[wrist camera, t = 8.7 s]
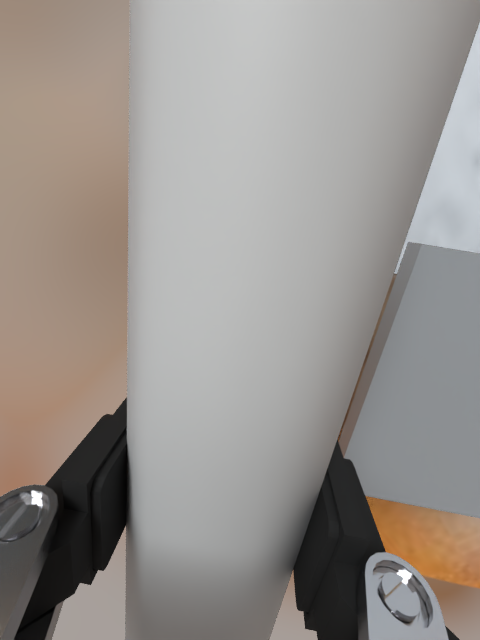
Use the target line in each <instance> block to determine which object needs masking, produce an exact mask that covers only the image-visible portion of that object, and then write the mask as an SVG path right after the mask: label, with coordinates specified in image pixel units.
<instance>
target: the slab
mask: <svg viewBox="0 0 480 640" xmlns="http://www.w3.org/2000/svg"><path fill="white" fill-rule="evenodd" d="M338 443H339V446H340V449H341V452H342V455H343V458H345V459H350V460H351V461H352V463H353V465H354V467H355V469H356V472H357V475H358V478H359V480H360V483H361V486H362V489H363V491H364V494H365V496H369V497H374V498H379V499H384V500H389V501H394V502H399V503H405V504H410V505H415V506H420V507H425V508H430V509H435V510H441V511H446V512H451V513H456V514H461V515H466V516H471V517H476V518H480V254H479V253H473V252H467V251H461V250H455V249H449V248H443V247H437V246H431V245H425V244H418V243H411V242H408V244H407V247H406V250H405V253H404V256H403V258H402V261H401V264H400V267H399V270H398V273H397V276H396V279H395V281H394V284H393V287H392V290H391V293H390V296H389V299H388V301H387V304H386V307H385V310H384V313H383V316H382V319H381V321H380V324H379V327H378V330H377V333H376V336H375V339H374V342H373V344H372V347H371V350H370V353H369V356H368V359H367V362H366V364H365V367H364V370H363V373H362V376H361V379H360V382H359V384H358V387H357V390H356V393H355V396H354V399H353V402H352V404H351V407H350V410H349V413H348V416H347V419H346V422H345V425H344V427H343V430H342V433H341V436H340V439H339V442H338Z"/></svg>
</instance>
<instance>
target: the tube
mask: <svg viewBox="0 0 480 640" xmlns="http://www.w3.org/2000/svg"><path fill="white" fill-rule="evenodd" d="M479 22H480V0H130V59H129V60H130V61H129V62H130V63H129V197H128V199H129V200H128V201H129V202H128V203H129V204H128V337H127V348H128V349H127V505H126V615H125V617H126V618H125V620H126V621H125V624H126V627H125V631H126V632H125V640H269V638H270V635H271V633H272V630H273V627H274V624H275V621H276V618H277V615H278V612H279V609H280V606H281V603H282V600H283V597H284V594H285V592H286V589H287V586H288V583H289V580H290V577H291V574H292V571H293V568H294V565H295V562H296V559H297V556H298V553H299V550H300V548H301V545H302V542H303V539H304V536H305V533H306V530H307V527H308V524H309V521H310V518H311V515H312V512H313V509H314V506H315V504H316V501H317V498H318V495H319V492H320V489H321V486H322V483H323V480H324V477H325V474H326V471H327V468H328V465H329V462H330V459H331V457H332V454H333V451H334V448H335V445H336V442H337V439H338V436H339V433H340V430H341V427H342V424H343V421H344V418H345V415H346V413H347V410H348V407H349V404H350V401H351V398H352V395H353V392H354V389H355V386H356V383H357V380H358V377H359V374H360V371H361V368H362V366H363V363H364V360H365V357H366V354H367V351H368V348H369V345H370V342H371V339H372V336H373V333H374V330H375V327H376V324H377V322H378V319H379V316H380V313H381V310H382V307H383V304H384V301H385V298H386V295H387V292H388V289H389V286H390V283H391V280H392V277H393V275H394V272H395V269H396V266H397V263H398V260H399V257H400V254H401V251H402V248H403V245H404V242H405V239H406V236H407V233H408V231H409V228H410V225H411V222H412V219H413V216H414V213H415V210H416V207H417V204H418V201H419V198H420V195H421V192H422V189H423V186H424V184H425V181H426V178H427V175H428V172H429V169H430V166H431V163H432V160H433V157H434V154H435V151H436V148H437V145H438V142H439V139H440V137H441V134H442V131H443V128H444V125H445V122H446V119H447V116H448V113H449V110H450V107H451V104H452V101H453V98H454V95H455V93H456V90H457V87H458V84H459V81H460V78H461V75H462V72H463V69H464V66H465V63H466V60H467V57H468V54H469V51H470V48H471V46H472V43H473V40H474V37H475V34H476V31H477V28H478V25H479Z"/></svg>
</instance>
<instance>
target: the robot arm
mask: <svg viewBox="0 0 480 640" xmlns="http://www.w3.org/2000/svg"><path fill="white" fill-rule="evenodd" d="M126 505H127V398H126V399H125V400H124V401H123V403H122V404H121V405H120V407H119V408H118V409H117V410H116V412H115V413H114V414H113V415H110V414H106V415H104V416H103V417H102V418H101V419H100V420H99V421H98V422H97V424H96V425H95V426H94V427H93V429H92V430H91V431H90V432H89V433H88V434H87V436H86V437H85V438H84V440H82V442H81V443H80V444H79V445H78V446H77V448H76V449H75V450H74V451H73V453H72V454H71V455H70V456H69V457H68V458H67V460H66V461H65V462H64V463H63V465H62V466H61V467H60V468H59V469H58V471H57V472H56V473H55V474H54V475H53V476H52V478H51V479H50V480H49V481H48V482H47V484H46V485H45V486H44V485H29V486H23V487H20V488H17V489H15V490H12V491H10V492H8V493H6V494H4V495H3V496H1V497H0V640H52V637H53V633H54V630H55V627H56V624H57V621H58V618H59V614H60V611H61V608H62V605H63V601H64V600H65V599H66V598H68V597H70V596H71V595H73V594H74V593H75V591H76V589H77V587H78V585H79V583H84V584H89V585H91V584H92V581H93V579H94V577H95V575H96V573H97V571H98V570H102V571H104V569H105V568H106V567H107V565H108V563H109V561H110V558H111V556H112V554H113V552H114V550H115V548H116V545H117V543H118V541H119V539H120V537H121V535H122V532H123V530H124V528H125V526H126ZM293 570H294V583H295V595H296V604H297V609H298V610H299V611H304V621H305V629H309V630H314V631H317V637H318V640H459V638H457V637H456V636H455V635H454V634H453V633H452V632H451V631H450V630H449V629H448V628H447V627H446V626H445V624H444V620H443V616H442V612H441V609H440V606H439V604H438V601H437V598H436V596H435V594H434V592H433V591H432V589H431V588H430V586H429V584H428V583H427V581H425V579H424V578H423V577H422V576H421V574H420V573H419V572H418V571H417V570H416V569H415V568H414V567H412V566H411V565H410V564H409V563H408V562H406V561H405V560H403V559H401V558H400V557H398V556H396V555H393V554H390V553H386V552H385V549H384V546H383V543H382V541H381V538H380V535H379V532H378V530H377V527H376V524H375V521H374V519H373V516H372V513H371V511H370V508H369V505H368V502H367V500H366V497H365V494H364V491H363V489H362V486H361V483H360V480H359V478H358V475H357V472H356V469H355V467H354V465H353V463H352V461H351V460H350V459H345V458H343V455H342V452H341V449H340V446H339V443H338V440H337V442H336V445H335V448H334V451H333V454H332V457H331V459H330V462H329V465H328V468H327V471H326V474H325V477H324V480H323V483H322V486H321V489H320V492H319V495H318V498H317V501H316V504H315V506H314V509H313V512H312V515H311V518H310V521H309V524H308V527H307V530H306V533H305V536H304V539H303V542H302V545H301V548H300V550H299V553H298V556H297V559H296V562H295V565H294V568H293Z"/></svg>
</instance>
